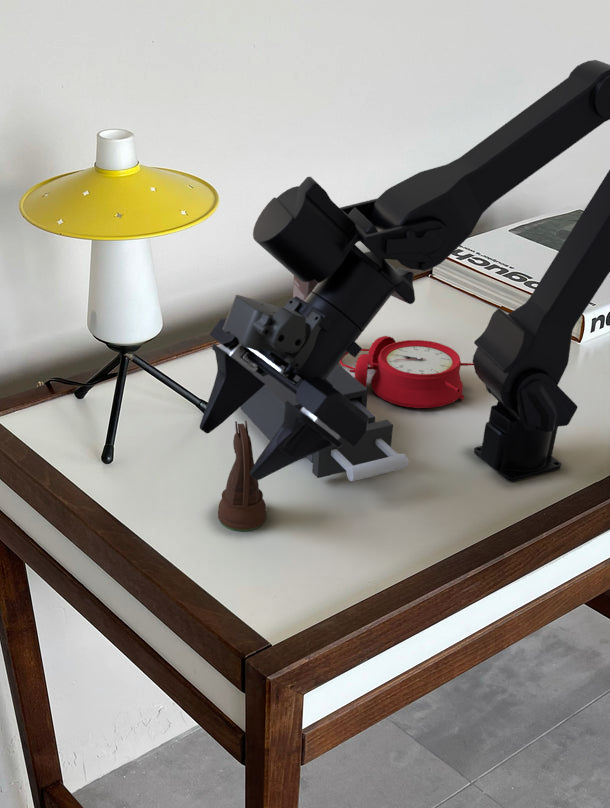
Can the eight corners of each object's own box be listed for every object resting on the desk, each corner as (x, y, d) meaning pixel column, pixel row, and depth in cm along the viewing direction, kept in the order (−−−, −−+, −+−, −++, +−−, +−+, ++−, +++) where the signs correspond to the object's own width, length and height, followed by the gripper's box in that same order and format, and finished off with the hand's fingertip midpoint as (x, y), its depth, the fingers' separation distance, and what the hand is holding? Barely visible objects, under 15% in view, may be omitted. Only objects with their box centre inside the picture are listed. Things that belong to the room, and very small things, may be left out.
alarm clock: (459, 391, 108) (335, 335, 112) (440, 437, 112) (321, 382, 116) (487, 353, 116) (371, 302, 120) (469, 398, 120) (356, 347, 124)
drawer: (415, 485, 99) (419, 448, 96) (341, 504, 96) (344, 466, 94) (340, 414, 110) (342, 380, 108) (272, 430, 108) (273, 395, 105)
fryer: (364, 438, 108) (368, 389, 104) (284, 457, 105) (286, 407, 101) (315, 392, 116) (317, 345, 113) (240, 408, 113) (240, 360, 110)
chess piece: (262, 501, 98) (263, 411, 92) (271, 532, 94) (273, 439, 88) (214, 505, 97) (213, 414, 92) (222, 536, 93) (221, 443, 87)
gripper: (227, 229, 90) (121, 369, 92) (347, 301, 77) (221, 463, 78) (299, 295, 98) (200, 423, 99) (419, 371, 84) (303, 518, 86)
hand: (227, 453), depth 91 cm, fingers open, 9 cm apart
